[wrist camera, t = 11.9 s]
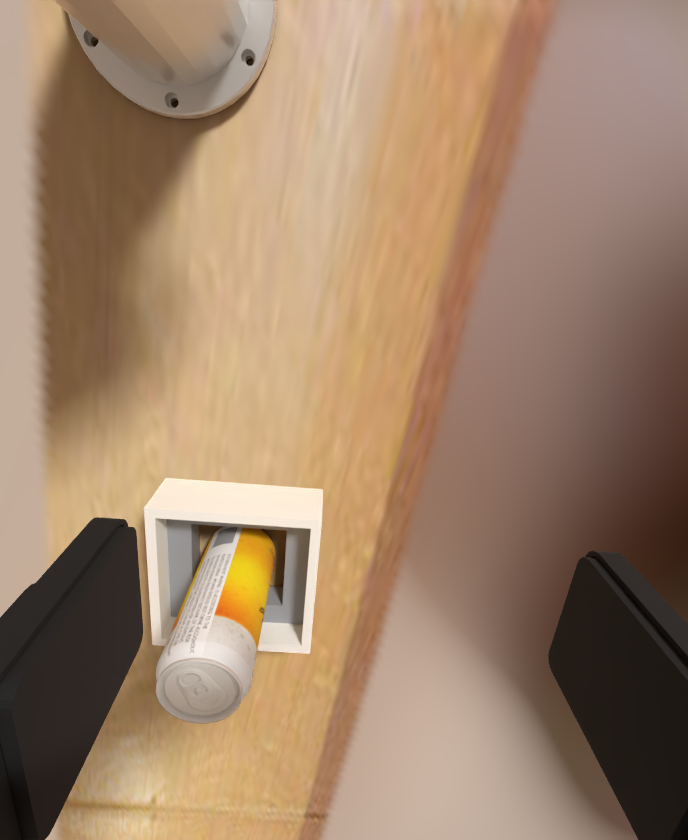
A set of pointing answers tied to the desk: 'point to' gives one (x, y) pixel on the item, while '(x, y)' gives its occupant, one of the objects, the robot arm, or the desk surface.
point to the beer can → (217, 628)
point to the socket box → (234, 507)
